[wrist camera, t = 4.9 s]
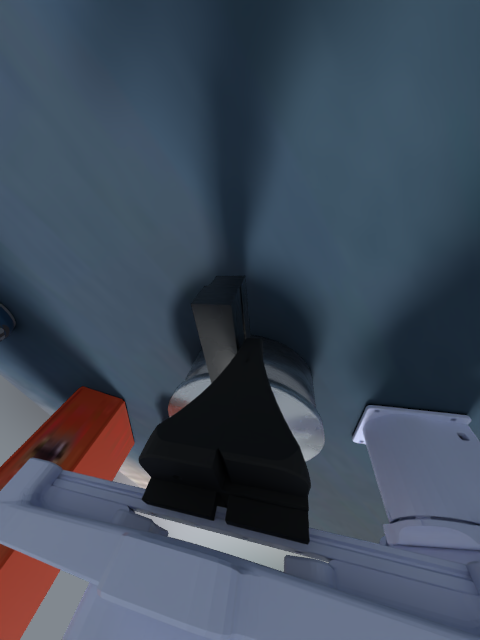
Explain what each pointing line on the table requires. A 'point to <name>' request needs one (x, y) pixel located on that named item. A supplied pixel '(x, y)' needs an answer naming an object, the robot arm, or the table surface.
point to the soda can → (5, 322)
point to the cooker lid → (220, 348)
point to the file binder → (71, 455)
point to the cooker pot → (266, 351)
